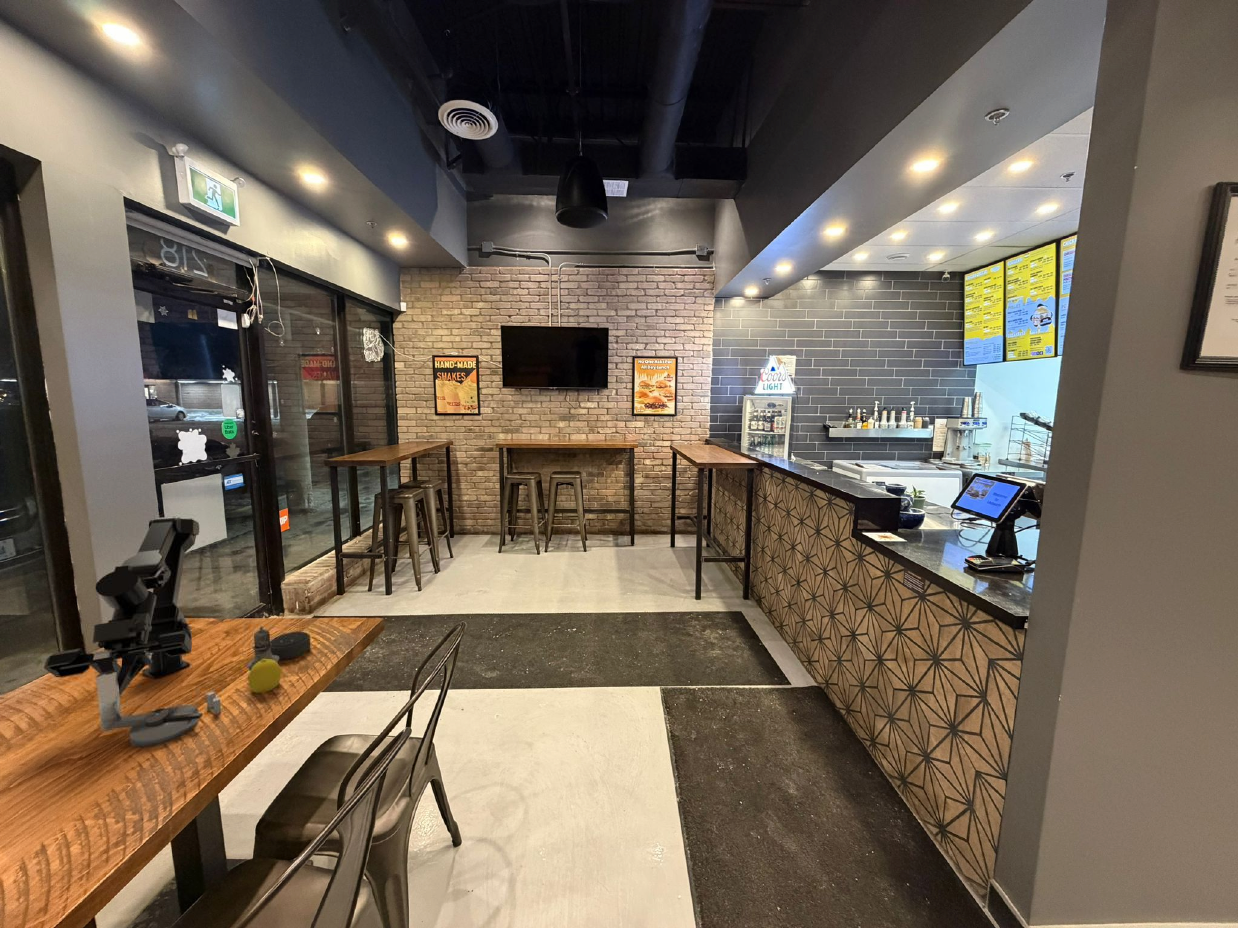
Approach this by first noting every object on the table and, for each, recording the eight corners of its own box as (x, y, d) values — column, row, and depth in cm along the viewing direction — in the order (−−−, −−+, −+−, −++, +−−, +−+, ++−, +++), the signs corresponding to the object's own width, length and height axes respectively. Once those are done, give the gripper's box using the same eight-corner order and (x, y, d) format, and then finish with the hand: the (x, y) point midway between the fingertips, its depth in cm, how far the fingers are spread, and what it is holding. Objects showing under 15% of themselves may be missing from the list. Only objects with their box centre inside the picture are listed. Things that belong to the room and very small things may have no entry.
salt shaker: (262, 684, 102) (259, 633, 101) (241, 681, 103) (237, 630, 102) (286, 670, 108) (283, 622, 107) (266, 667, 109) (263, 619, 108)
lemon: (261, 687, 101) (259, 652, 100) (287, 686, 101) (285, 652, 101) (243, 702, 96) (240, 666, 95) (271, 701, 96) (268, 665, 95)
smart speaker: (261, 656, 115) (260, 640, 114) (300, 641, 122) (300, 627, 122) (277, 666, 110) (276, 650, 110) (317, 650, 117) (316, 635, 117)
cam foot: (99, 738, 82) (93, 675, 81) (175, 705, 92) (170, 648, 91) (134, 760, 77) (128, 693, 76) (210, 723, 87) (206, 663, 86)
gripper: (44, 611, 82) (12, 701, 74) (183, 592, 92) (169, 669, 83) (70, 635, 89) (45, 720, 81) (197, 615, 99) (186, 689, 91)
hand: (113, 698), depth 84 cm, fingers closed
